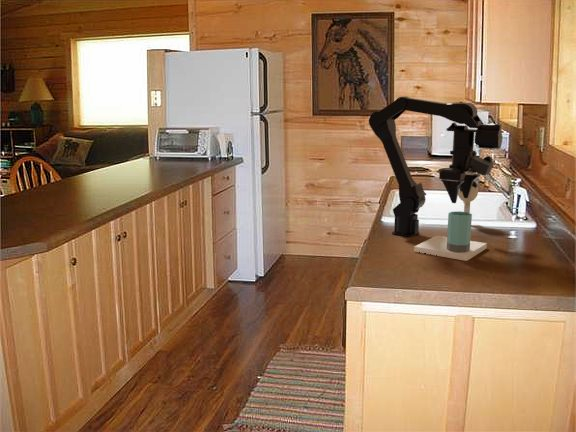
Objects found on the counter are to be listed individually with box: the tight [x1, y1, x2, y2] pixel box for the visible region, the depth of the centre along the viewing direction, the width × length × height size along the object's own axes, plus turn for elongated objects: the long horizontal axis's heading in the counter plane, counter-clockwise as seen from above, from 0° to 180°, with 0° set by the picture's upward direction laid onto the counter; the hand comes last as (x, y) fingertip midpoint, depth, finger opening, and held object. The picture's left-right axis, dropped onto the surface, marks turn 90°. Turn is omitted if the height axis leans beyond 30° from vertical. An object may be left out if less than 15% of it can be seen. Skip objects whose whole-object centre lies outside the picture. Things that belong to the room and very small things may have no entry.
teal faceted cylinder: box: [446, 211, 473, 253], centre depth 166 cm, size 6×6×10 cm
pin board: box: [413, 235, 488, 262], centre depth 172 cm, size 15×15×5 cm
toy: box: [458, 180, 479, 214], centre depth 202 cm, size 9×7×15 cm
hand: (460, 200), depth 180 cm, fingers open, 9 cm apart
